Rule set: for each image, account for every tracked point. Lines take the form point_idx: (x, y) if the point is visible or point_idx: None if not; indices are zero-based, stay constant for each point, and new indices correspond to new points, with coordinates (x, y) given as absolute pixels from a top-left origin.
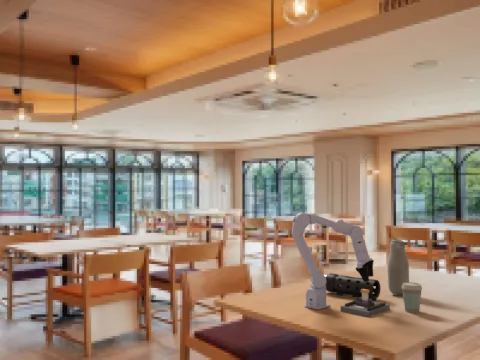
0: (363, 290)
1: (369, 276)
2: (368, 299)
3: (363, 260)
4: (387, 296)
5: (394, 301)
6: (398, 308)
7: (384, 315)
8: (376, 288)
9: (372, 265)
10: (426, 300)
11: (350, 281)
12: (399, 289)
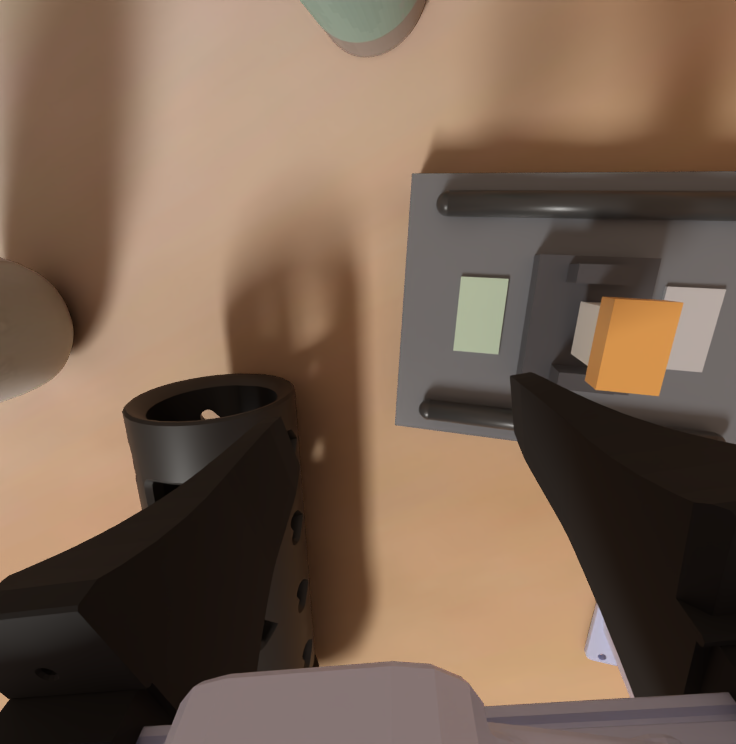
0: (665, 355)
1: (295, 459)
2: (623, 284)
3: None
4: (127, 360)
5: (201, 264)
6: (357, 137)
7: (654, 103)
8: (173, 414)
9: (163, 518)
10: (30, 100)
11: (266, 616)
12: (35, 293)
